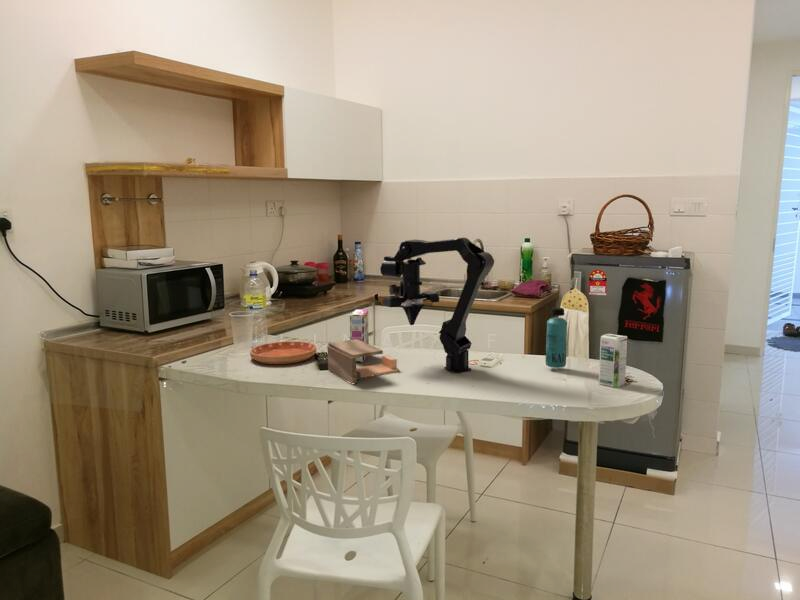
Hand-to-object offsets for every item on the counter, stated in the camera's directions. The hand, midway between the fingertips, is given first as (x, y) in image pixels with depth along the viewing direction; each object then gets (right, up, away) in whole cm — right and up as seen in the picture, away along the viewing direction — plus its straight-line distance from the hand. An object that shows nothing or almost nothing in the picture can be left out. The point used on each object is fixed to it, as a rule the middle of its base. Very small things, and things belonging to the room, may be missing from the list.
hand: (411, 324), depth 208 cm
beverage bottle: (+46, -14, -9) cm, 49 cm away
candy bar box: (-18, -12, +9) cm, 23 cm away
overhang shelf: (-18, -15, -10) cm, 26 cm away
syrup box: (+58, -17, -24) cm, 65 cm away
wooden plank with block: (-13, -15, -7) cm, 21 cm away
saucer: (-45, -12, +12) cm, 48 cm away
